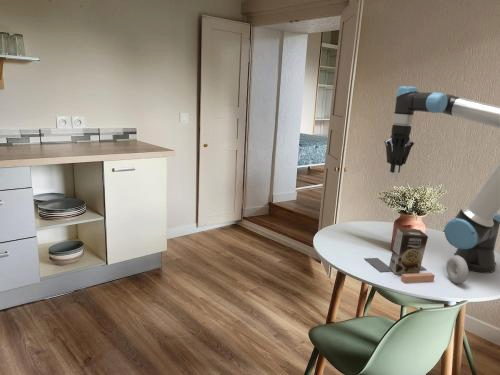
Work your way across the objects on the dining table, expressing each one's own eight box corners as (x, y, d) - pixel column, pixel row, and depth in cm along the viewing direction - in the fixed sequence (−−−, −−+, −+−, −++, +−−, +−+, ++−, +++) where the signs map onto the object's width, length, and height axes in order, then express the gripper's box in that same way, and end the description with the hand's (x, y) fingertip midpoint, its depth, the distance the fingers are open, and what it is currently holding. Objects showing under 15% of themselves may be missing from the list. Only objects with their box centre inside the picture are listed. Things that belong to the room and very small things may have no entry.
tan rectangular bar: (429, 279, 143) (431, 272, 142) (433, 281, 141) (434, 275, 140) (400, 280, 140) (401, 274, 139) (404, 283, 138) (405, 276, 137)
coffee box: (395, 275, 144) (403, 234, 139) (388, 266, 150) (396, 227, 145) (419, 276, 144) (428, 236, 140) (411, 267, 150) (420, 229, 146)
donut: (442, 275, 146) (447, 250, 144) (451, 275, 147) (456, 251, 144) (458, 288, 137) (463, 262, 134) (467, 288, 137) (473, 262, 135)
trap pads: (407, 257, 161) (407, 256, 161) (426, 270, 150) (426, 269, 150) (364, 259, 157) (364, 258, 157) (380, 272, 145) (380, 271, 145)
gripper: (410, 124, 168) (401, 178, 174) (383, 123, 165) (375, 177, 170) (421, 126, 161) (412, 182, 166) (393, 124, 158) (384, 181, 163)
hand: (393, 179), depth 168 cm, fingers closed
